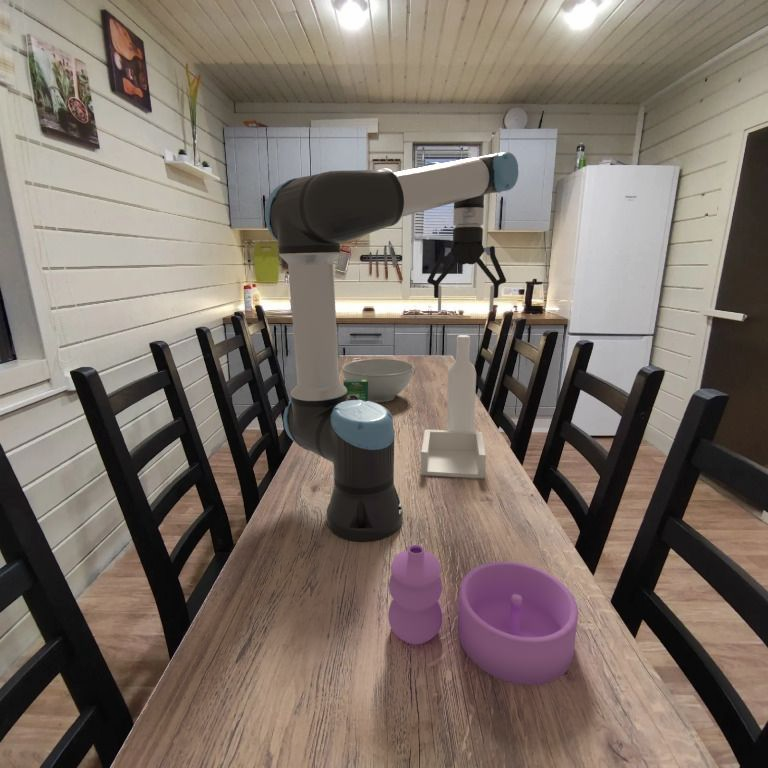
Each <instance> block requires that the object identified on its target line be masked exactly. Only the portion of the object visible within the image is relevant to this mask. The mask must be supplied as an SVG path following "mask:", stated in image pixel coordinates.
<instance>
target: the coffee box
mask: <svg viewBox="0 0 768 768" xmlns="http://www.w3.org/2000/svg"><path fill="white" fill-rule="evenodd" d="M342 384H343V385H344V386H345V387H346V388H347V398H348V401H349V400H362V401H364V402H367V401H368V381H367V380H345V379H343V382H342Z"/></svg>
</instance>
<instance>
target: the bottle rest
mask: <svg viewBox="0 0 768 768" xmlns="http://www.w3.org/2000/svg"><path fill="white" fill-rule="evenodd" d="M422 439H423V440H422V445H421V455H420V457H421V458H420V475H421V476H430V477H447V478H448V477H450V478H464V479H465V478H468V479H483V480H484V479H485V474H486V449H485V444H484V436H483V432H482V431H474V432H472V431H449V430H446V429H445V430H444V429H443V430H442V429H424V434H423V438H422Z"/></svg>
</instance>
